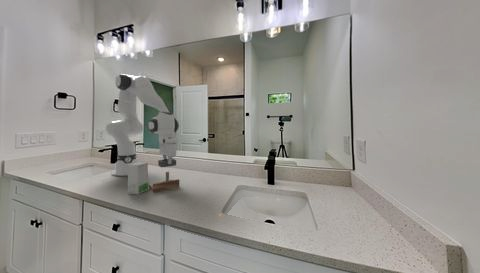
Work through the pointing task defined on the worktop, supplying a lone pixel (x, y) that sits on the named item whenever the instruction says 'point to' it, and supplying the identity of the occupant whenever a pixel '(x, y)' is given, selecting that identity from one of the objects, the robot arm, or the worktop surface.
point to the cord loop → (164, 163)
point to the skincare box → (137, 177)
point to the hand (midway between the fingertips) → (167, 162)
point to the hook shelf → (164, 184)
